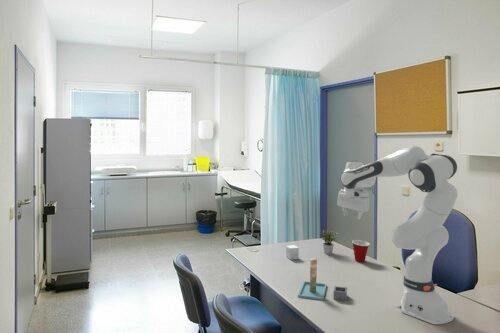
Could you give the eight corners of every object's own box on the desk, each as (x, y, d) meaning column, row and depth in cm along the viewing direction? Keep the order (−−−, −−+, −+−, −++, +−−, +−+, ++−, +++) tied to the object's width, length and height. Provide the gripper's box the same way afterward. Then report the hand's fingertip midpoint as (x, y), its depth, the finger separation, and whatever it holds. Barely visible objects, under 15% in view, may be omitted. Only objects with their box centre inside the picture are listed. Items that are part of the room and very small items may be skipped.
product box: (298, 258, 244) (299, 247, 243) (290, 259, 242) (290, 248, 241) (294, 255, 250) (294, 244, 249) (285, 256, 247) (286, 245, 247)
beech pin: (317, 291, 191) (318, 260, 190) (312, 292, 190) (313, 261, 188) (313, 289, 194) (314, 258, 193) (308, 290, 192) (309, 259, 191)
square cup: (346, 297, 187) (347, 287, 187) (346, 302, 181) (346, 292, 181) (334, 296, 189) (334, 286, 188) (333, 301, 183) (333, 290, 183)
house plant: (339, 258, 246) (340, 233, 244) (317, 256, 249) (318, 231, 247) (339, 251, 260) (340, 227, 258) (318, 249, 263) (319, 226, 261)
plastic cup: (370, 264, 235) (370, 245, 233) (351, 263, 237) (352, 243, 236) (368, 258, 245) (369, 240, 244) (350, 257, 247) (351, 239, 246)
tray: (303, 284, 202) (303, 281, 202) (326, 287, 199) (326, 283, 199) (297, 299, 185) (297, 295, 185) (323, 302, 182) (323, 298, 181)
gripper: (334, 189, 210) (334, 214, 211) (362, 194, 192) (362, 221, 194) (343, 188, 213) (342, 213, 214) (371, 193, 195) (371, 220, 197)
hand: (352, 217), depth 204 cm, fingers open, 8 cm apart
